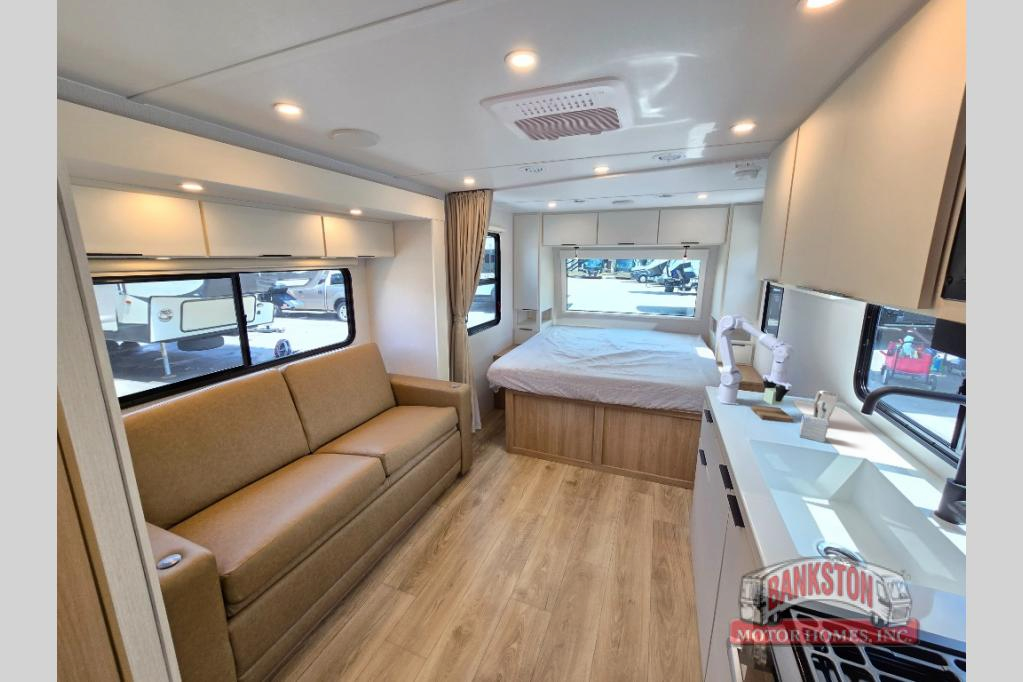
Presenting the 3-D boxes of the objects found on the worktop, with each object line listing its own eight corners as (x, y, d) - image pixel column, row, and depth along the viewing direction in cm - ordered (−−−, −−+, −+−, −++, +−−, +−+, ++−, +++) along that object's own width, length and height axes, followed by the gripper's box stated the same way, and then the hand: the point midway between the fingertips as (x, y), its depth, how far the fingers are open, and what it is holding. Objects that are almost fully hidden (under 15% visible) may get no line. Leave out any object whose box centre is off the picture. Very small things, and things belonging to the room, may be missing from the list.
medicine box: (822, 438, 144) (827, 419, 142) (824, 443, 141) (829, 423, 139) (798, 433, 149) (802, 414, 147) (799, 437, 145) (803, 417, 143)
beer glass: (827, 429, 152) (835, 397, 149) (806, 423, 158) (814, 392, 154) (831, 425, 156) (839, 393, 153) (811, 419, 162) (819, 388, 158)
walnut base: (750, 408, 172) (751, 405, 171) (778, 411, 170) (779, 407, 169) (762, 419, 161) (763, 415, 160) (792, 422, 158) (793, 418, 158)
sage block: (763, 400, 165) (765, 388, 164) (773, 400, 166) (775, 388, 164) (771, 404, 161) (773, 392, 159) (781, 404, 161) (784, 392, 160)
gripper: (759, 365, 166) (753, 392, 170) (783, 375, 152) (777, 405, 156) (773, 365, 167) (767, 392, 170) (799, 376, 153) (792, 405, 156)
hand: (773, 398), depth 163 cm, fingers closed on sage block, 5 cm apart
